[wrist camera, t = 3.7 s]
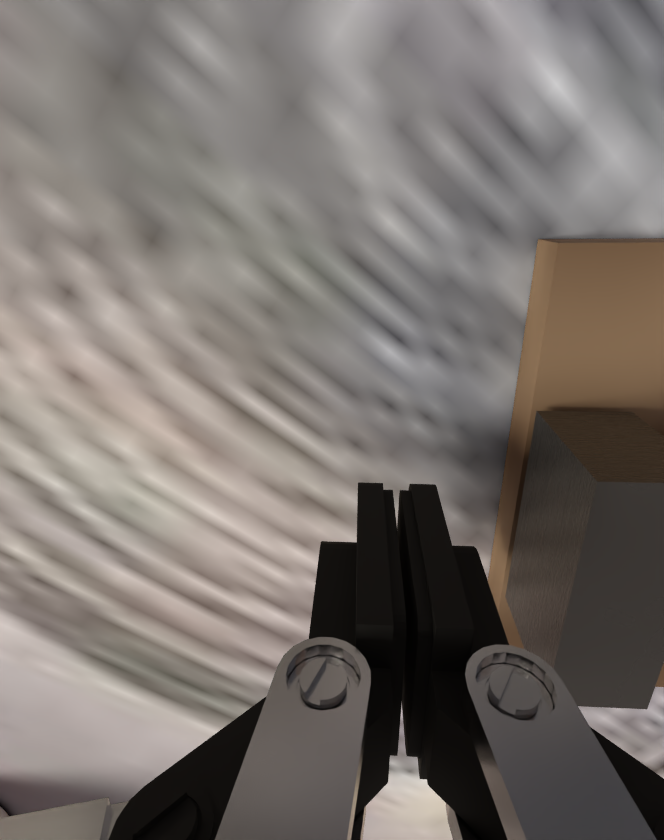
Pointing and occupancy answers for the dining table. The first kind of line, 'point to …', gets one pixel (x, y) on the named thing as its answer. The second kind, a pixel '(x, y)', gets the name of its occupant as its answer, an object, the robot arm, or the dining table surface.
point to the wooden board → (582, 360)
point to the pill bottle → (3, 813)
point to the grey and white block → (593, 555)
